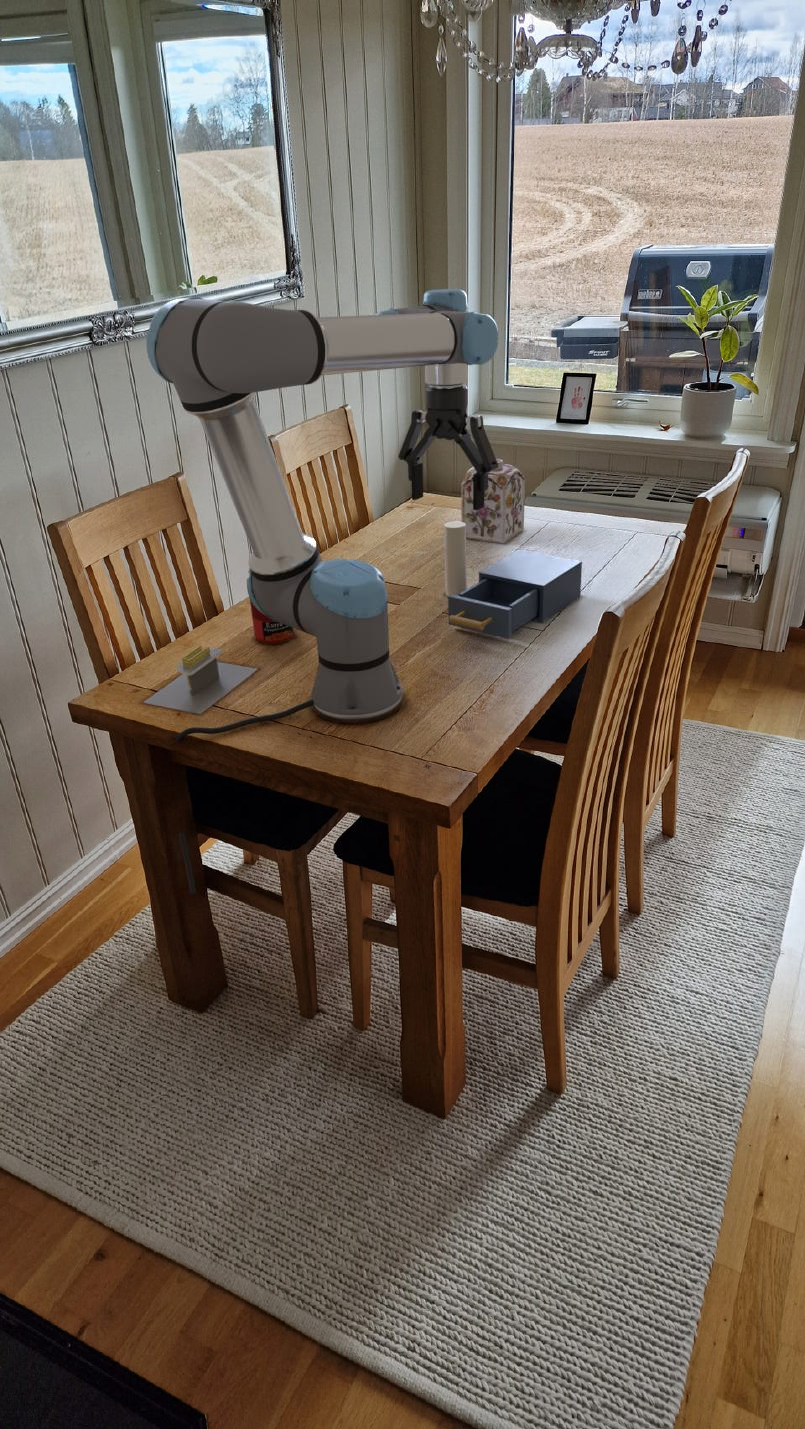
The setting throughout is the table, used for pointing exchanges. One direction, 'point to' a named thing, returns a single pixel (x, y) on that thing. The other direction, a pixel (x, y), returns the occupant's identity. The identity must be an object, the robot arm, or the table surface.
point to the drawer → (494, 607)
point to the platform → (200, 682)
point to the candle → (455, 557)
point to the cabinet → (540, 578)
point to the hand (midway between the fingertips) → (447, 503)
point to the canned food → (269, 628)
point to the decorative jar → (495, 505)
